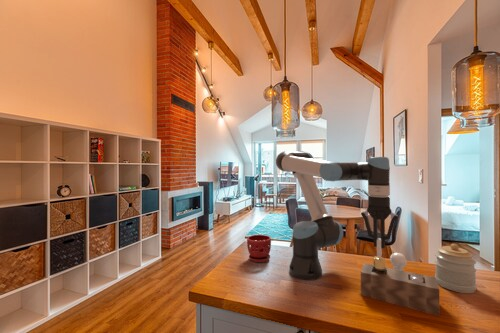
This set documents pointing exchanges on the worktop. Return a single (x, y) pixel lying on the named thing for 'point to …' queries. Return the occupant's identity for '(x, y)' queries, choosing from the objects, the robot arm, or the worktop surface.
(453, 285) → the jar
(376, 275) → the socket block
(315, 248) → the robot arm
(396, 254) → the lightbulb
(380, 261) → the brass peg
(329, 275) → the worktop surface
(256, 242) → the plant pot
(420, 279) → the steel peg
